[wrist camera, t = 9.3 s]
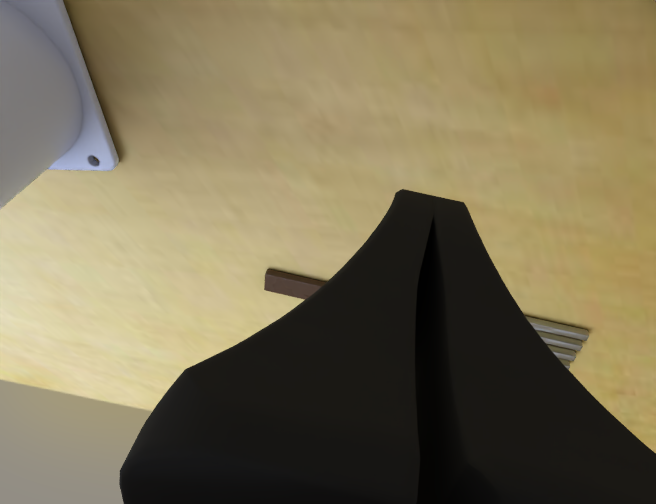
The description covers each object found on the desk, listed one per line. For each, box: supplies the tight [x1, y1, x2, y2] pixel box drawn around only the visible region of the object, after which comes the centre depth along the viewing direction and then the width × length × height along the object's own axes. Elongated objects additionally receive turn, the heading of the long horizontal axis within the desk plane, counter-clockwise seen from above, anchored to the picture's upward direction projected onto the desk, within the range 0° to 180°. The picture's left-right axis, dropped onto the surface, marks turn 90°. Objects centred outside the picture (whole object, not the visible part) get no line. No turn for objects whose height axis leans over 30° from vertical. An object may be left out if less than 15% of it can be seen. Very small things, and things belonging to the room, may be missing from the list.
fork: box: [264, 269, 589, 369], centre depth 27 cm, size 15×2×1 cm, turn 83°
